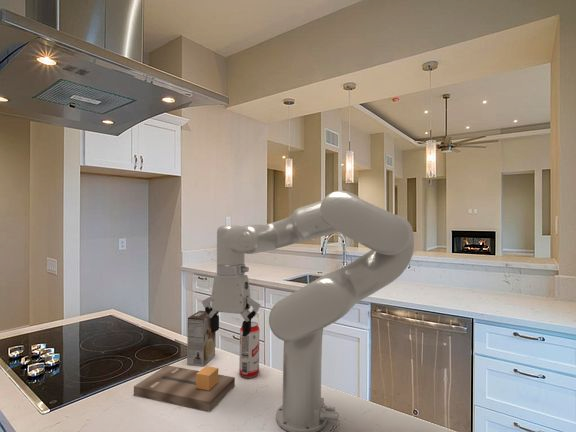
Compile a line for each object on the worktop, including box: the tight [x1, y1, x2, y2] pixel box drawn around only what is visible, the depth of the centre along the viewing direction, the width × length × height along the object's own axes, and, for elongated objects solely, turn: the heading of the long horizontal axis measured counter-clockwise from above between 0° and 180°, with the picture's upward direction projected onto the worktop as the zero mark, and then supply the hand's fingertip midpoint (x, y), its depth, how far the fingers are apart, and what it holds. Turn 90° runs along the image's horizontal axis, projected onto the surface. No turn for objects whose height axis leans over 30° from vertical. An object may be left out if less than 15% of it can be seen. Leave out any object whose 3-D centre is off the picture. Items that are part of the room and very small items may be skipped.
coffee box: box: [186, 310, 216, 367], centre depth 115 cm, size 9×6×16 cm
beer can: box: [238, 321, 261, 379], centre depth 105 cm, size 6×6×16 cm
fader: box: [196, 365, 219, 391], centre depth 92 cm, size 4×5×4 cm
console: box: [133, 365, 236, 413], centre depth 94 cm, size 24×14×3 cm, turn 72°
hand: (230, 333), depth 90 cm, fingers open, 9 cm apart
